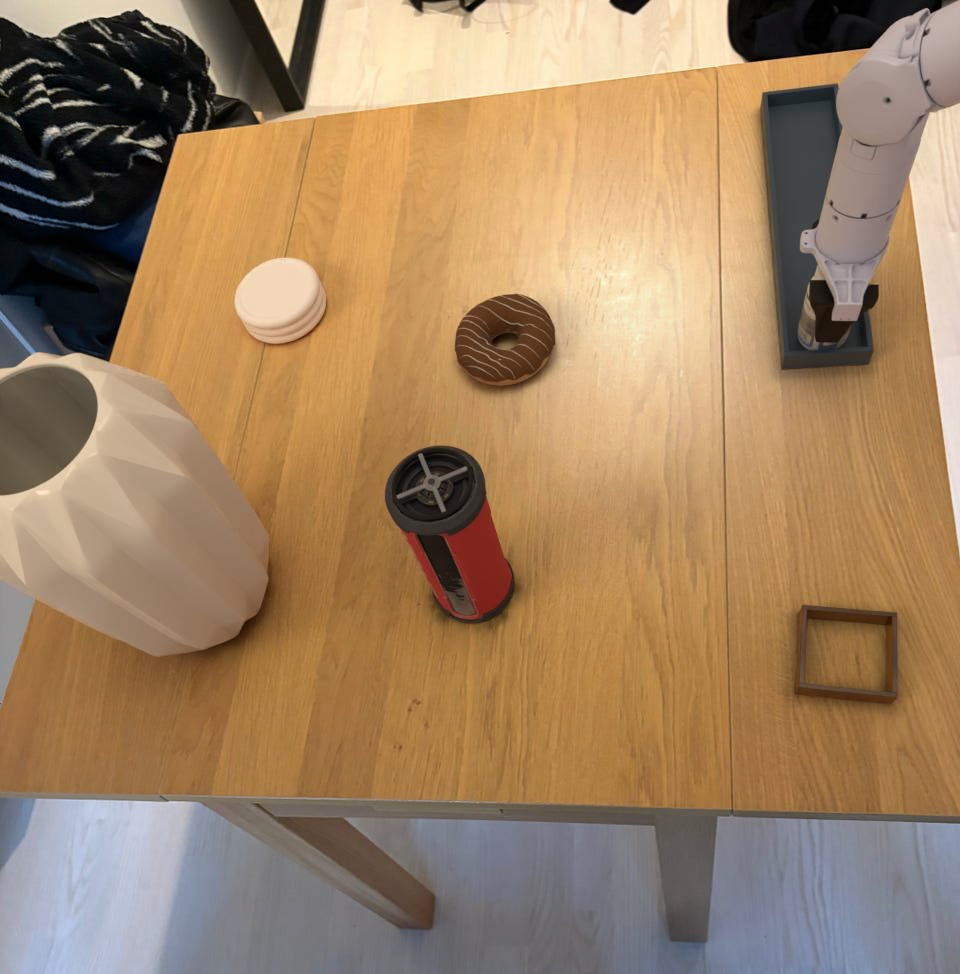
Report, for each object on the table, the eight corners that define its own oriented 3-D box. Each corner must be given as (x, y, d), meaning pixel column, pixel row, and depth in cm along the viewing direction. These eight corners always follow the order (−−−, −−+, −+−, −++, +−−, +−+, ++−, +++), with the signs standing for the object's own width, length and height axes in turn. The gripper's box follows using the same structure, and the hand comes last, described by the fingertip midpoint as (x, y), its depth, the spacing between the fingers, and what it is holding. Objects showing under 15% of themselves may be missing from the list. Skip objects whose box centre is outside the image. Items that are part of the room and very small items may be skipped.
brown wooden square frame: (798, 613, 71) (802, 604, 69) (891, 621, 69) (897, 612, 67) (795, 694, 68) (798, 687, 66) (891, 704, 66) (897, 697, 65)
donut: (531, 298, 89) (527, 270, 85) (574, 365, 85) (571, 338, 81) (443, 340, 89) (434, 313, 85) (480, 409, 85) (473, 383, 81)
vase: (154, 504, 87) (-39, 315, 62) (323, 515, 83) (189, 317, 58) (93, 675, 81) (-150, 540, 56) (274, 697, 76) (98, 561, 51)
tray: (759, 109, 94) (762, 92, 92) (834, 100, 92) (838, 82, 90) (781, 369, 80) (784, 355, 78) (868, 364, 79) (874, 350, 77)
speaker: (527, 605, 75) (497, 501, 59) (450, 637, 76) (399, 542, 59) (498, 538, 79) (462, 423, 62) (424, 569, 79) (368, 462, 62)
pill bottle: (853, 322, 80) (876, 252, 73) (839, 359, 79) (861, 292, 71) (804, 311, 82) (821, 243, 74) (789, 348, 80) (805, 282, 73)
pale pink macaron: (304, 353, 92) (292, 330, 89) (231, 337, 95) (217, 315, 92) (342, 286, 95) (331, 261, 92) (269, 272, 98) (257, 248, 94)
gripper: (814, 130, 69) (786, 259, 81) (808, 262, 64) (780, 377, 76) (904, 127, 68) (863, 258, 80) (906, 261, 62) (861, 379, 75)
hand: (827, 317), depth 78 cm, fingers closed on pill bottle, 5 cm apart
